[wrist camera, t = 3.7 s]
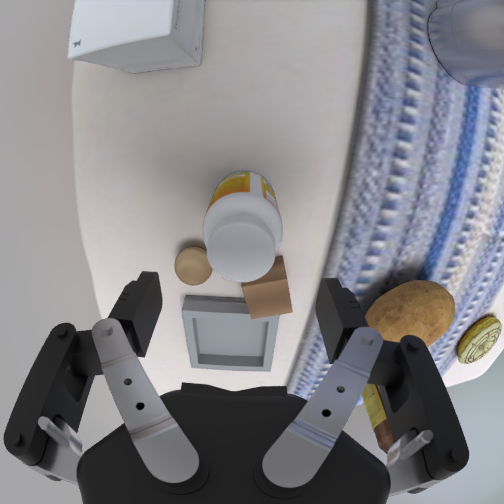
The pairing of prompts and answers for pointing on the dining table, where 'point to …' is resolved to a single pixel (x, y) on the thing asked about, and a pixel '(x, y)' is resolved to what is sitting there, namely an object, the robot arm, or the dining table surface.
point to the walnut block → (268, 292)
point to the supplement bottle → (242, 227)
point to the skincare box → (137, 33)
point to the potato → (413, 312)
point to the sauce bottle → (377, 416)
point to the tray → (227, 334)
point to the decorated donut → (479, 340)
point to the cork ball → (193, 266)
